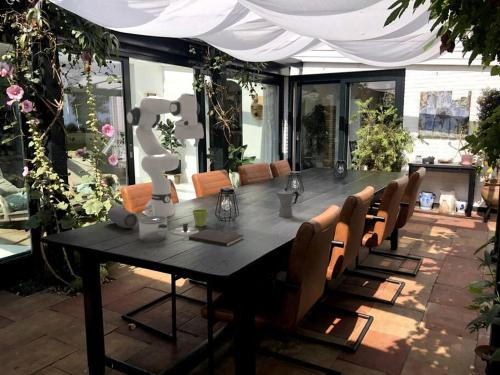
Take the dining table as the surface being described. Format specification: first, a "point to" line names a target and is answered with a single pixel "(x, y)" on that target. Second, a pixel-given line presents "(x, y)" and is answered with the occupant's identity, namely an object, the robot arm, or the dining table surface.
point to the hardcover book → (216, 237)
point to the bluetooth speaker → (122, 217)
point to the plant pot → (200, 216)
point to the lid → (185, 230)
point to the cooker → (153, 228)
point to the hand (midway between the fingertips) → (190, 147)
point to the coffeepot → (286, 202)
